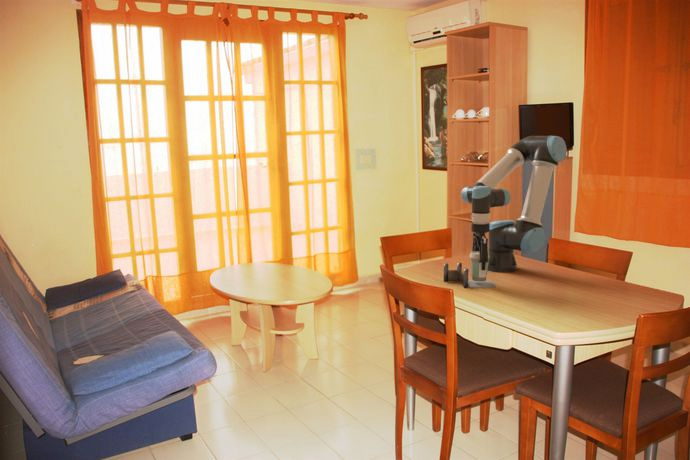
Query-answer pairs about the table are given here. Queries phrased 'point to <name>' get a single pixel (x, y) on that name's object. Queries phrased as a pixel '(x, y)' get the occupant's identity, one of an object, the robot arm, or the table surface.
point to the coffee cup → (477, 266)
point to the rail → (456, 275)
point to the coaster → (480, 284)
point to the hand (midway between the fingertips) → (479, 274)
